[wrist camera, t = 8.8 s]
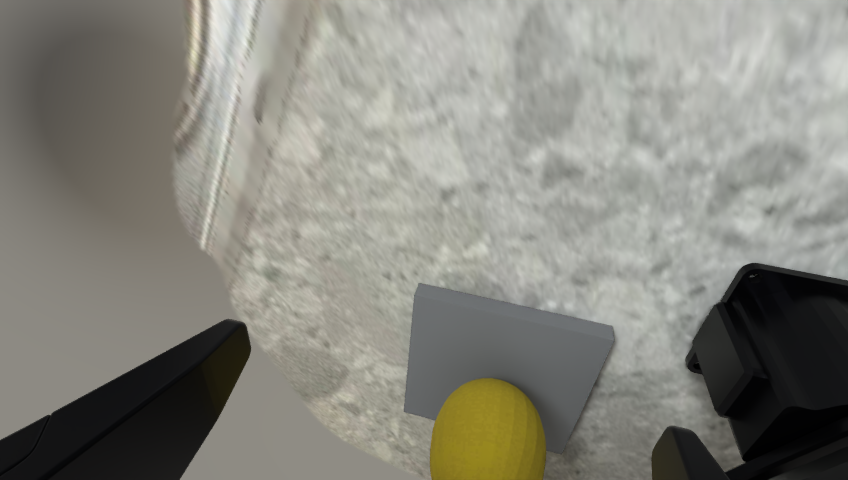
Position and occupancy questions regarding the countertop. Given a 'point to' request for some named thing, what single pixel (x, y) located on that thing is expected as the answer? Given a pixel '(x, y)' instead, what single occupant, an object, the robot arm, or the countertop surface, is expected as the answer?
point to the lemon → (488, 435)
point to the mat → (503, 355)
